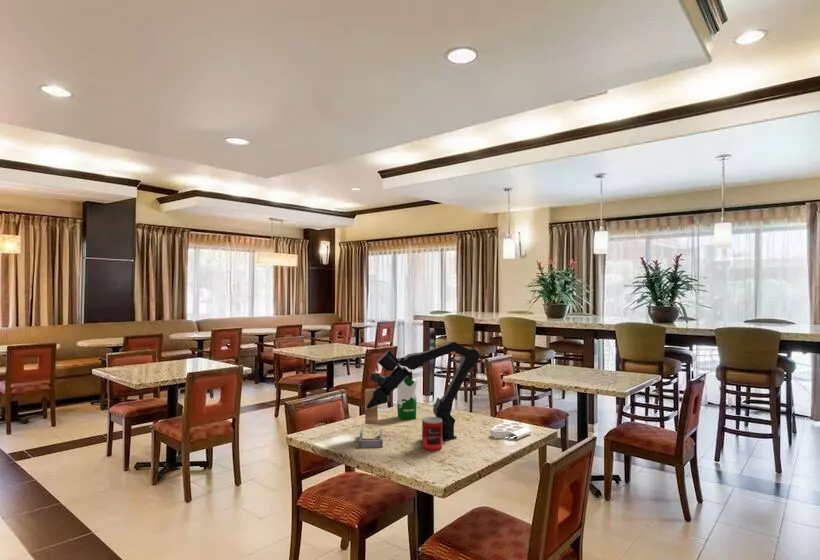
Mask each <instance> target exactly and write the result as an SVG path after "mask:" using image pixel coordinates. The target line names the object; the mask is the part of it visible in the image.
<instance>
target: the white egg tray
mask: <svg viewBox="0 0 820 560" xmlns="http://www.w3.org/2000/svg"><path fill="white" fill-rule="evenodd" d="M532 433H533V432H532V430H531V429H530V428H528V427H526V426H523V425H521V423H519V422H516V421H510V422H509V421H508V422H505V423H504V422H503V423H499V424H496V425H494V426H493V428H491V429H490V437H491V436H492V437H496V438H495V439H497V438H503V437H508V438H510V437H513V436H517V437H516V438H515V439H516V440H515V441H517V440H519V439H521V438H524V437H526V435H527V436H529V435H531V434H532ZM492 437H491V438H492ZM508 438H507V439H508ZM503 439H504V438H503Z"/></svg>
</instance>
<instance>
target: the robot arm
mask: <svg viewBox="0 0 820 560" xmlns="http://www.w3.org/2000/svg"><path fill="white" fill-rule="evenodd" d="M453 352H454V353H456V354H458V355H460V358H459V359H460V360H459V364H458V365H459V366H458V368H457V369H456V371H455V374H454V375H453V377H452V379H451V381H450V383H449V384H448V387H447V389H446V390H445V393H444V395H443V396H442V397H440V398H439V397H437V398H436V400H435V403H434V404H432V407H433V409H432V412H433V415H434V417H438V418H441V419H442V441H449V440H453V439H458V437H457V435H455V423H456V418H454V417H453V416H452V415H451V413H452V410H453V402H454V400H455V398H456V396H457V394H458V392H459V390H460V388H461V387H462V385H463V382H464V381H465V379H466V377H467V375H468V373H469V371H470V370H472V369H473V367H474V366H475V365H476V364H477V362H478V361H479V360H480V357H481V356H480V355H481V354H480V353H479V351H478V350H477V349H475V348H473V347H465V346H463V345H462V344H459V343H457V342H456V341H452V340H451V341H449V342H447V343H444V344H441V345H438V346H436V347H433V348H431V349H428V350H425V351H421V352H414V353H408V354H406V355H405V356H404V357H396V356H395V355H394V354H393V352H392V351H390V350H389V349H388V350H387V351H386V352H385V353H383V354H382V355H381V356H380V357H379V358H378V360H377V361H376V362H377V363H378V365H380V366H381V367H382V368H383V369H384V370H385V371H386V372H389V371H390V373H389V374H388V375H386V376H384V375H382V374H380V373H379V372H376V371H374V370H373V371H372V372H371V374H370V376H369V378H368V380H369V381H371V382H374V383H376V386H375V388H374V389H375V390H374V391H373V398H372V399H371V401H370V402H369V404H368V405H367V408H368V409H369V408H371V407H374V406H376V405H378V406H379V405H381V404H386V403H387V401H389V396H390V395H392V393H393V391H394V390H395V389H397V387H398V385H399V384H400V383H401V382H402V381H403V380H404V379H405V378H406V377H407V376H408V377H409V378H410V379H413V370H416V369H418V368H420V367H421V366H423V365H424V364H425V363H427V362H429V361H432V360H435V359H437V358H440V357H442V356H445V355H448V354H450V353H453ZM409 370H411V371H409Z"/></svg>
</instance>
